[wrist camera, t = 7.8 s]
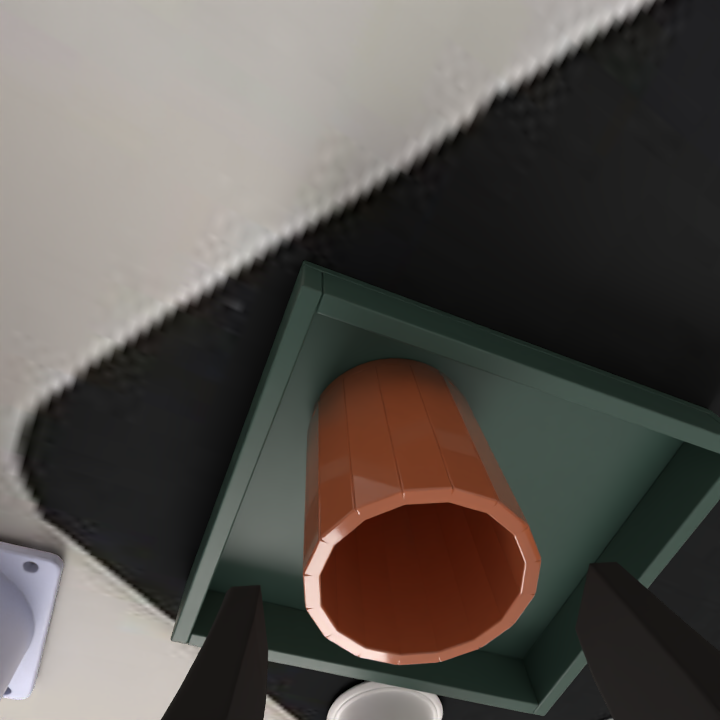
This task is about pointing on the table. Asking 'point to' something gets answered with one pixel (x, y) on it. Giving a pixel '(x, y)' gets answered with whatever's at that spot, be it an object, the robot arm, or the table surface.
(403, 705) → the candle
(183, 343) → the table surface
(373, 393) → the cup
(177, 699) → the robot arm
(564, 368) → the tray
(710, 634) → the table surface
